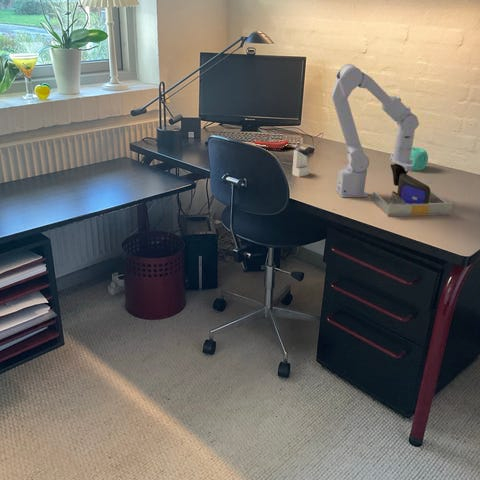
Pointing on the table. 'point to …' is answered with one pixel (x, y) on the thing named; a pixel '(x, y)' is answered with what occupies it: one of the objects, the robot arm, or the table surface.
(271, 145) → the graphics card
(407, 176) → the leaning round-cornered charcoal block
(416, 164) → the decorative dice
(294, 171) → the white wedge bracket
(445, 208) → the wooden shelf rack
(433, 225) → the table surface
